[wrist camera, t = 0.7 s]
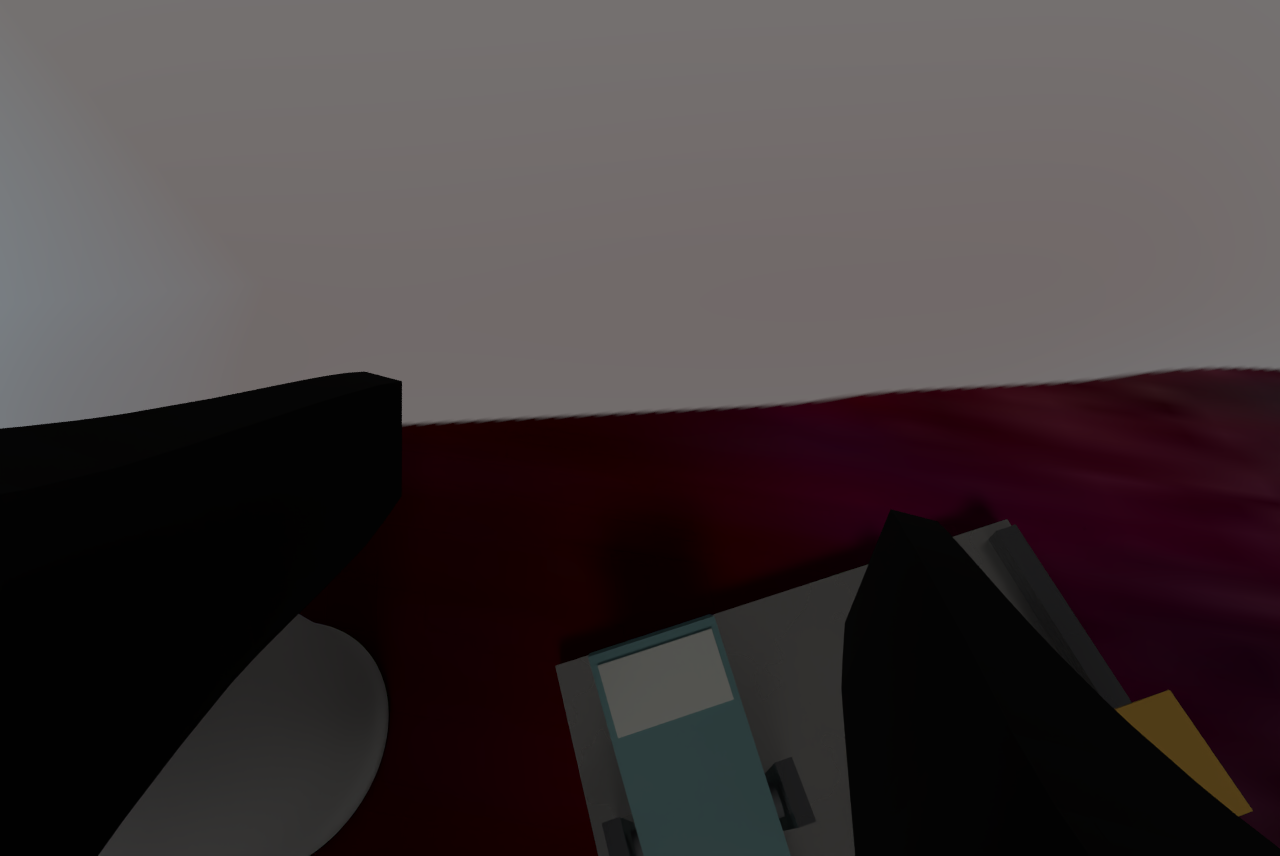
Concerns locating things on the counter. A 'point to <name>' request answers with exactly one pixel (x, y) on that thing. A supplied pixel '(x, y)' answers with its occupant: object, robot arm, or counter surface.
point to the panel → (813, 693)
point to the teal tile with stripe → (686, 746)
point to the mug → (270, 756)
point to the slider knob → (1183, 745)
